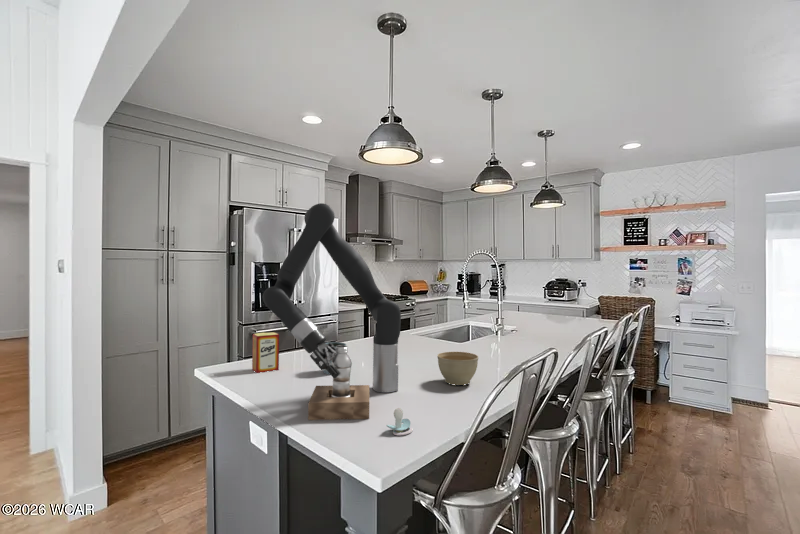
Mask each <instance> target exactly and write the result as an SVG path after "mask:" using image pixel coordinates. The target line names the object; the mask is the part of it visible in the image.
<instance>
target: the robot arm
mask: <svg viewBox="0 0 800 534" xmlns="http://www.w3.org/2000/svg"><path fill="white" fill-rule="evenodd" d="M335 216H336V215H335V212H334V210H333V208H332V207H331V206H330V205H329V204H327V203H325V202H324V203H322V202H321V203H316V204H313V205H312V206H311V207H310V208H309V209H308V210H306V212H305V214H304V224H305V226H304V228H303V231H302V233H301V235H299V238H298V240H297V241H296V242H295V244H294V245H293V247H292V248H291V250H290V251H289V252H288V254H287V255H286V257H285V259H284V261H283V262H282V264H281V266H280V268H279V270H278V271H277V274H276V278H277V280H276V282H275V284H274V285H273V286H270V287H267V288H266V289H265V290H264V292H263V294H262V300H263V303H264V305H265V306H266V308H268V309H269V310H270V311H271V312H272V313H273V314H274V315H275V316H276V318H279V320H280V321H281V323H282V324H283V325H284V326H285V327H286V328H287V329H288V330H289V332H290V334H292V336H293V338H294V339H295V340H296V341H297V342H298V344H299V345H300V346H301V347H302V348H303V349H304V350H305V352H307V353H308V354H309V358H311V360H312V362H314V364H316V366H318V368H319V370H321V371H323V369H324V370H327V371H328V372H329V373H330V374H329V375H330V376H331V377H332V379H333V378H336V377H337V376H338V375H339V372H338V371H337V370H336V369H335V367H334V366H333V365H331V362H330V361H332V360H333V358H334V357H335V355H336V354H337V353H336V348H335V347H334V345H333V344H332V343H329V344H328V345H327V344H326V343H327V342H325V341H327V336H326V335H325V333H323V332H322V330H321V329H320V328H319V327H318V326H317V325H316V324H315V322H314V321H312V320H311V319H309V317H308V316H307V315H306V314H305V313H304V312H303V310H302V309H300V307H298V306H297V305H295V303H294V302H293V301H292V300H291V299H292V295H293V293H294V292H295V291H294V290H295V288H296V285H297V282H298V281H299V279H300V278H301V275H302V274H303V272H304V270H305V268H306V266H307V264H308V262H309V260H310V258H311V257H312V254H313V252H314V251H315V249H316V247H317V245H318V244H319V242H320V244H321V245H322V246H323V247H324V248H325V250H326V251H327V253H328V255H329V256H330V258H331V259H332V261H333V262H334V264H335V265H336V266H337V268H338V270H339V271H340V273H342V275H343V277H344V278H345V279H346V281H347V282H348V283H349V284H350V286H351V287H352V288H353V289H354V291H356V293H357V294H358V295H359V297H361V299H362V301H363V302H364V304H365V306H366V307H367V309H368V312H369V313H370V314H371V317H372V318H373V319H374V320H375V321H376V329H375V330H376V331H375V333H374V335H373V337H372V339H373V344H372V345H373V347H372V349H373V352H372V353H373V354H372V359H373V361H372V389H373V391H375V392H376V393H377V392H378V393H392V392H399V337H400V336H401V323H402V322H401V317H402V314H401V308H400V305H399V304H398V303H396V302H395V301H393V300H389V299H388V298H387V297H386V296H385V295H384V293H383V292H382V291H381V290H380V289H379V287H378V286H377V284H376V282H375V280H374V276H373V274H372V272H371V269H370V267H369V266H368V264H367V263H366V262H365V260H364V258H363V257H362V255H361V254H360V253H359V251H357V250H356V249H355V247H354V246H352V245H351V244H350V243H349V242H348V241H346V239H344V238H343V237H342V236H341V234H340V233H339V232H338V230H337V229H336V227H335V226H334V221H335Z"/></svg>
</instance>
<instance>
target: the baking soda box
mask: <svg viewBox="0 0 800 534" xmlns="http://www.w3.org/2000/svg"><path fill="white" fill-rule="evenodd" d="M251 358H252V362H251V365H252V366H251V367H252V369H251V370H252V371H253V372H254V371H255V372H256V373H255V372H254V373H255V374H260V372H262V373H268V372H267V371H269V372H274V371H273V370H276V371H279V370H280V369H279V368H280V365H279V364H280V363H279V362H280V334H279V333H277V332H275V331H274V332H258V333H252V357H251Z"/></svg>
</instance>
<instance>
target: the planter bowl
mask: <svg viewBox="0 0 800 534" xmlns="http://www.w3.org/2000/svg"><path fill="white" fill-rule="evenodd" d="M478 361H479V355H477V354H476V353H471V352H468V351H467V352H465V351H444V352H443V351H442V352H440V353H438V354H437V363H438V368H439V371H440V374H441V375H442V377H443V378H444V380H445V383H446V382H447V383H450V384H455V385H454V386H456V385H463V386H465V385H464V384H468V383H469V384H470V383H471V380H472V378H473V377H474V376H475V373H476V371H477V368H478ZM447 383H446V384H447ZM450 384H449V385H450ZM469 384H468V385H469Z"/></svg>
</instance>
